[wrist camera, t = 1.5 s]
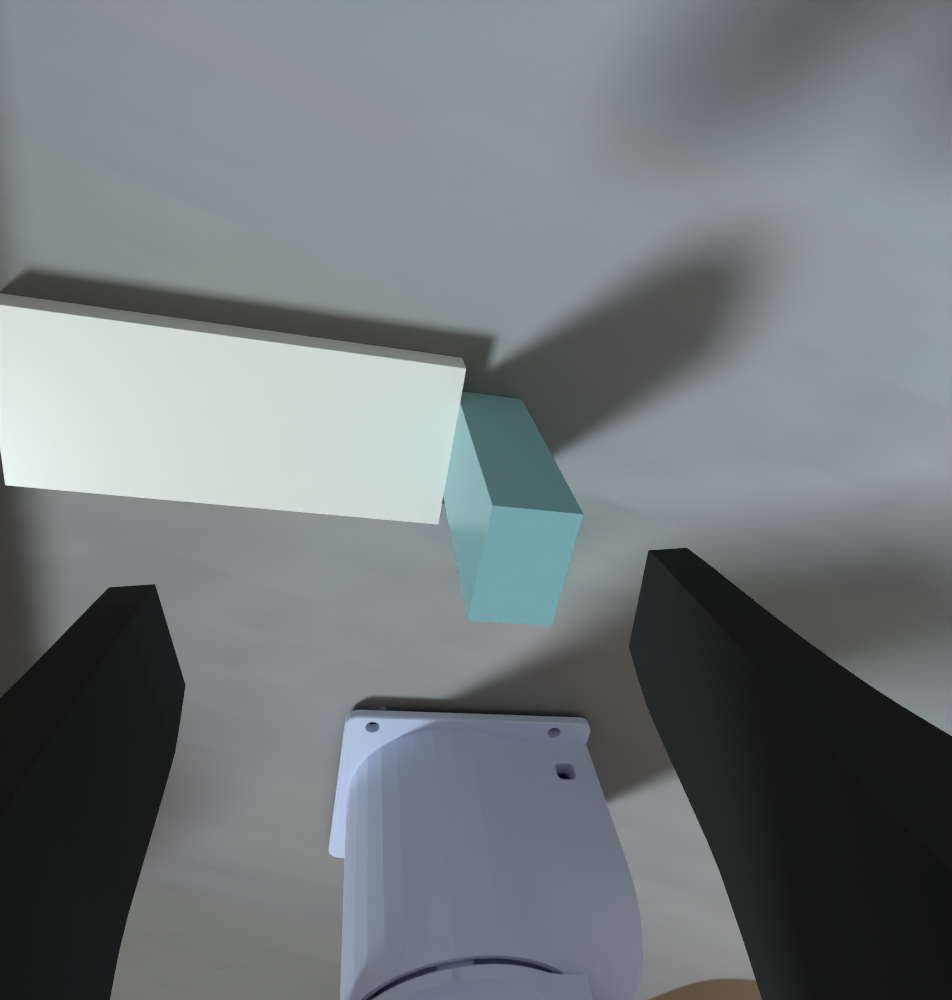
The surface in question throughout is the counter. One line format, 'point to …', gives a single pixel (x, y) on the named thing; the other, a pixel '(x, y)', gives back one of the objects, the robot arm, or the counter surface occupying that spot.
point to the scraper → (287, 436)
